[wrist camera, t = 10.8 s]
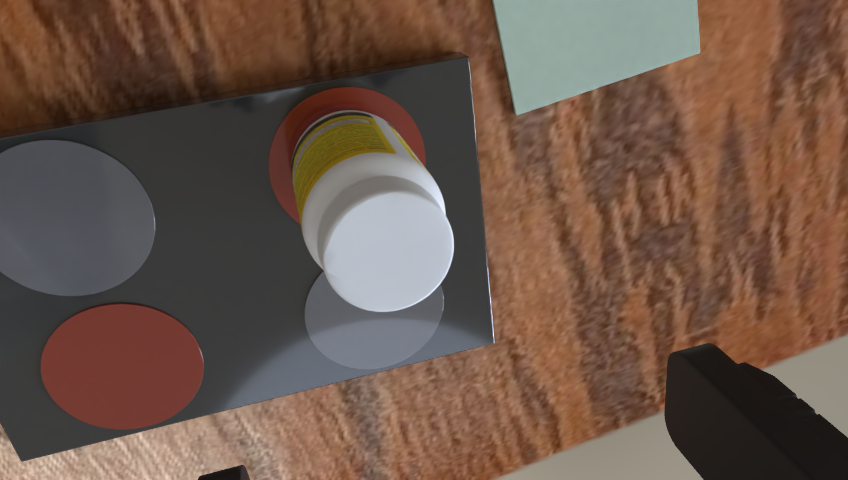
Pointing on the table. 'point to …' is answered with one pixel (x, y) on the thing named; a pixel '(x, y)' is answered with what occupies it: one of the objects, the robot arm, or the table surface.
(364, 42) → the table surface
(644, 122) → the table surface
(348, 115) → the supplement bottle
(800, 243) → the table surface
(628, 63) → the cloth
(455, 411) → the table surface
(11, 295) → the hob
